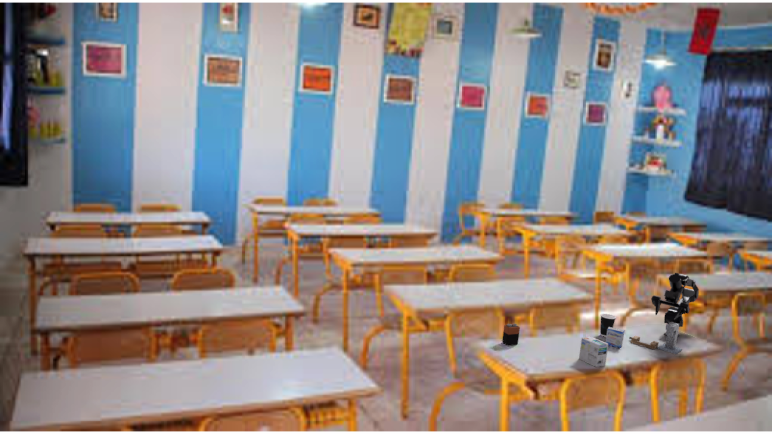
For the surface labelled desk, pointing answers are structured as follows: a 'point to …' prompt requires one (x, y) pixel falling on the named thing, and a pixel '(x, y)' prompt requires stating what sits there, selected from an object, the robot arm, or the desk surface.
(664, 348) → the mat
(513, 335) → the battery
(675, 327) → the grey stone block
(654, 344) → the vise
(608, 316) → the dixie cup
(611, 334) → the medicine box
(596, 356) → the light bulb box
